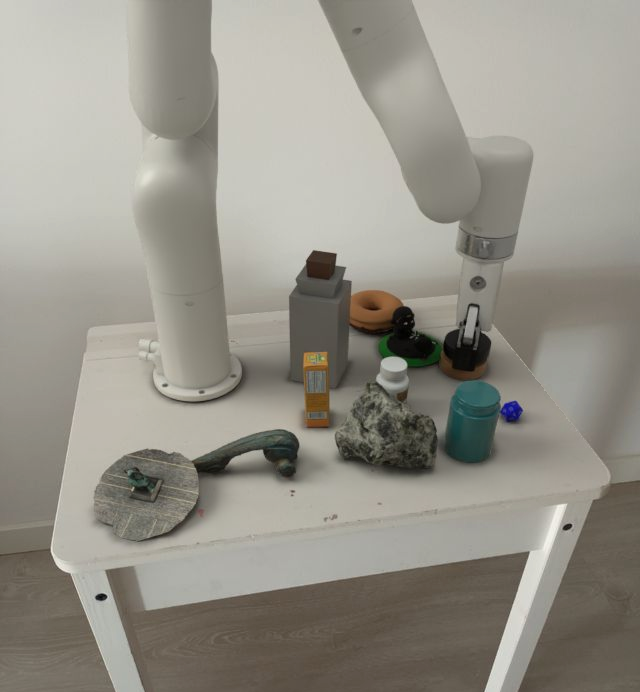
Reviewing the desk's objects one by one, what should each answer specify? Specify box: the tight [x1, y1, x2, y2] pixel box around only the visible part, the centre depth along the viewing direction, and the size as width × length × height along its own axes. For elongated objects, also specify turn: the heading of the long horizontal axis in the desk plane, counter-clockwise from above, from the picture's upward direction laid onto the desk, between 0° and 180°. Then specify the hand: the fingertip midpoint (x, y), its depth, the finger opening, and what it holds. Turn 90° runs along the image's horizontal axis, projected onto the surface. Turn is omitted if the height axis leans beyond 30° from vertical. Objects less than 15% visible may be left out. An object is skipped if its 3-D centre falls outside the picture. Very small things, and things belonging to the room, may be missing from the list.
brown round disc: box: [438, 349, 488, 381], centre depth 97 cm, size 7×7×2 cm
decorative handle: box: [190, 428, 300, 479], centre depth 79 cm, size 15×7×5 cm, turn 105°
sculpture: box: [93, 448, 200, 542], centre depth 75 cm, size 12×9×8 cm
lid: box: [442, 328, 492, 364], centre depth 96 cm, size 7×7×2 cm
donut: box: [349, 289, 405, 334], centre depth 106 cm, size 10×10×4 cm
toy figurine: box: [377, 305, 443, 367], centre depth 100 cm, size 10×10×6 cm
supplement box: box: [303, 352, 331, 428], centre depth 85 cm, size 3×4×10 cm
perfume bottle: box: [288, 249, 353, 389], centre depth 91 cm, size 7×7×18 cm
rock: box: [334, 379, 439, 469], centre depth 80 cm, size 12×8×10 cm
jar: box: [442, 379, 502, 463], centre depth 81 cm, size 6×6×9 cm
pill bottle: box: [375, 357, 410, 405], centre depth 87 cm, size 4×4×8 cm
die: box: [500, 400, 524, 423], centre depth 88 cm, size 3×3×3 cm
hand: (465, 354), depth 97 cm, fingers closed on lid, 6 cm apart
